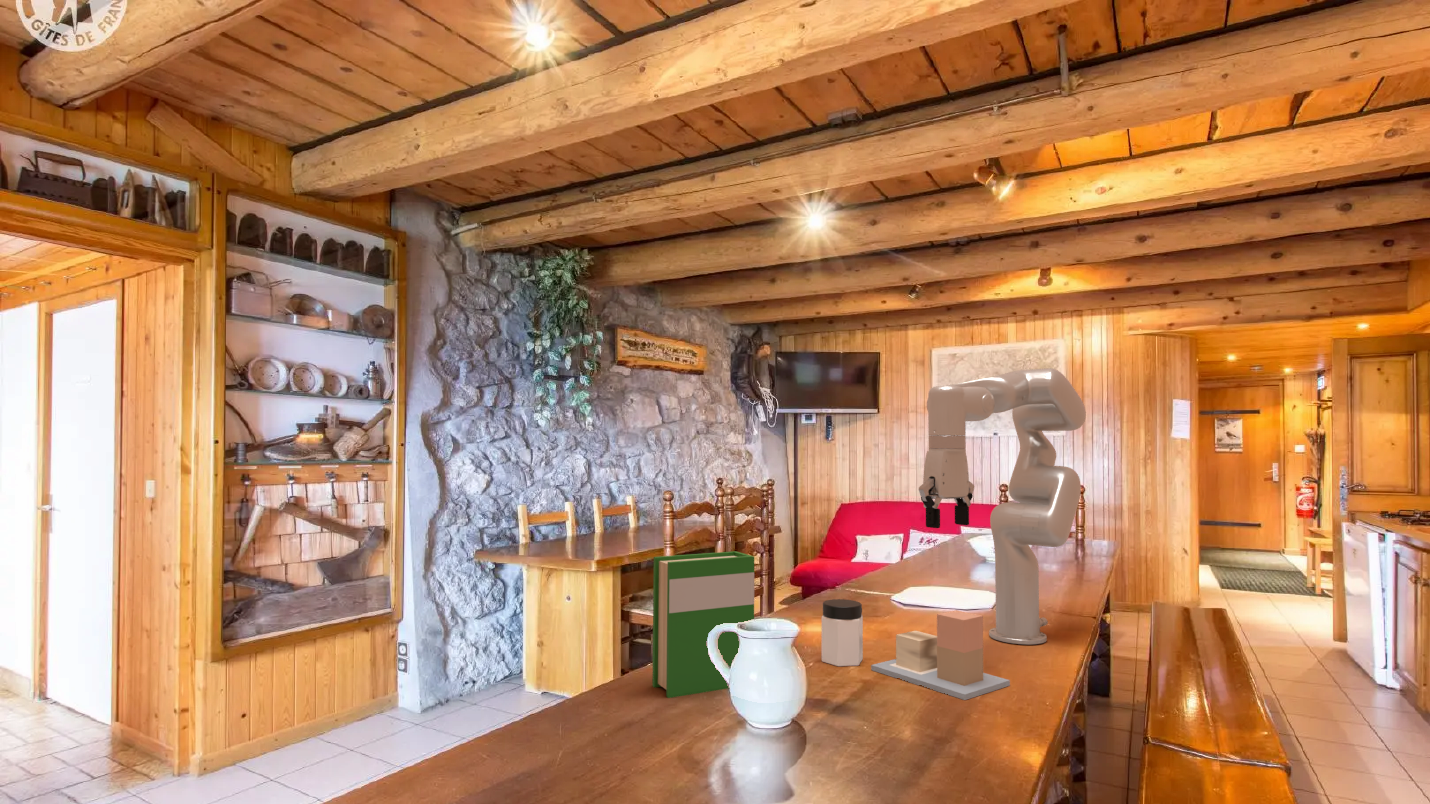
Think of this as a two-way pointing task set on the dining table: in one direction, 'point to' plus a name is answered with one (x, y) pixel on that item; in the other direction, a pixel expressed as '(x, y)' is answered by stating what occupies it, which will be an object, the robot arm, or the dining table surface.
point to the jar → (842, 632)
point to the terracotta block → (960, 631)
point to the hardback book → (697, 617)
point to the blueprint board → (941, 683)
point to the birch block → (916, 651)
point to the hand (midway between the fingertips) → (947, 526)
